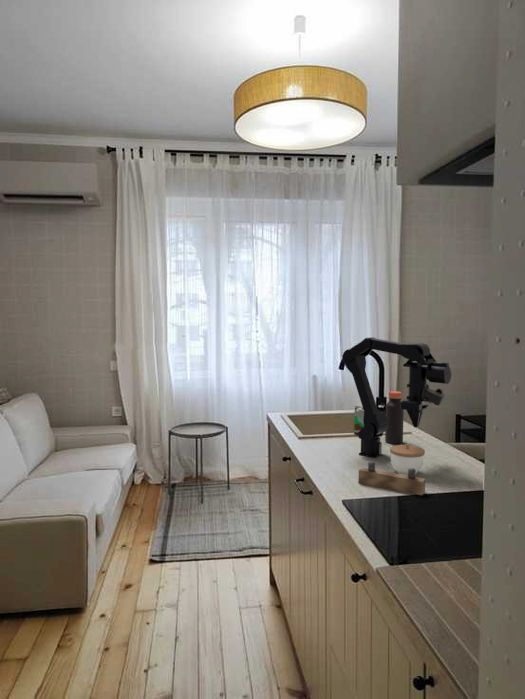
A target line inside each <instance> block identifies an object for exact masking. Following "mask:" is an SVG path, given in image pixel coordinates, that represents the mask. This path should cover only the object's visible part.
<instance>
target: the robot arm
mask: <svg viewBox="0 0 525 699" xmlns="http://www.w3.org/2000/svg"><path fill="white" fill-rule="evenodd" d="M373 350H374V351H380V352H384V353H391V354H395V355H399V356H401V357H402V358H405V359H406V362H405V363H404V364H402V366H403V367H404V368H406V367H407V368H408V369H409V370H408V371H409V372H408V383H406V387H407V388H408V394H407V395H406V398H405V399H403V400H402V401H401V403H400V409H404V411H405V410H406V412H407V414H408V417H409V419H410V421H411V424H412V426H413V427H414V428H418V427H419V426H420V424H421V420H422V418H423V417H422V416H423V412H424V410H426V409H428V407H429V405H428V404H426V403H425V402H428V403H429V404H434V405H435V406H438V407H439V406H440V405H442V403H443V400H444V399H445V394H444V390H443V389H442V388H440V387H439V388H437V389H436V390H435V389H432V388H430V385H429V383H427V382H428V381H429V382H430V383H434V384H435V383H436V384H442V385H443V384H444V385H449V383H450V382H451V379H452V370H451V368H450V366H449V365H450V363H449V362H437V360H436V359H435V357H434V356H433V354H432V353H431V349H430V347H429V346H428V344H426V343H424V342H421V343H420V342H417V343H416V342H413V343H412V342H410V343H404V342H403V343H402V342H397V341H392V340H386V339H379V338H376V337H365V338H364V339H362V341H360V342H358V343H357V344H355V345H354V346H352V347H351V348H349V349H346V350H344V352H343V354H342V355H341V357H342V361H343V363H344V365H345V368H346V369H347V370H348V371H349V372H350V373H351V375H352V378H353V380H354V385H355V386H356V387H355V388H356V391H357V393H358V397H359V399H360V400H359V401H360V403H361V407H363V410H364V417H363V423H364V428H363V429H361V430H360V431H359V432H358V434H357V435H358V439H360V452H359V453H358V455H359V456H366V457H372V458H377V457H379V456H380V455H381V454H383V452H382V448H383V446H382V445H383V444H382V441H381V437H383V436H384V433H385V431H386V429H387V423H388V421H387V419H386V411H381V410H379V409H378V407H377V403H376V400H375V398H374V395H373V390H372V388H371V385H370V382H369V377H368V375H367V373H366V372H367V371H366V367H367V358H366V357H367V356H369V355H370V354H371V353H372V351H373Z"/></svg>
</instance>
